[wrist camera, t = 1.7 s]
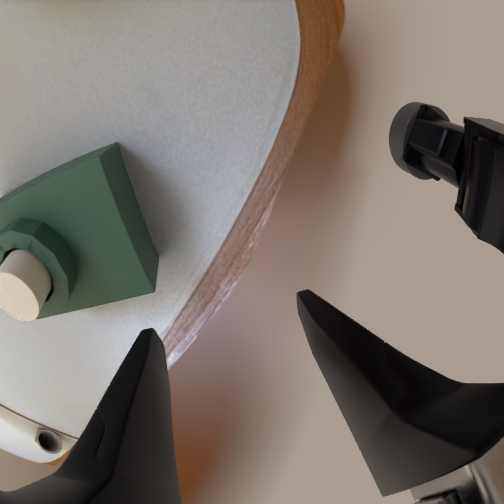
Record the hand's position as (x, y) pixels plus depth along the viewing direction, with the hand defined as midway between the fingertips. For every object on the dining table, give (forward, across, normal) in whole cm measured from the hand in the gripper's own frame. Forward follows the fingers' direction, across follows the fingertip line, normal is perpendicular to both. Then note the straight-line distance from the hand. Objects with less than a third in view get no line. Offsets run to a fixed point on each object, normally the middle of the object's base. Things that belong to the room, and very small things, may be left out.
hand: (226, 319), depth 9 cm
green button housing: (+13, +11, 0) cm, 17 cm away
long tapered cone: (+13, +56, +46) cm, 73 cm away
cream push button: (+7, +13, 0) cm, 15 cm away
